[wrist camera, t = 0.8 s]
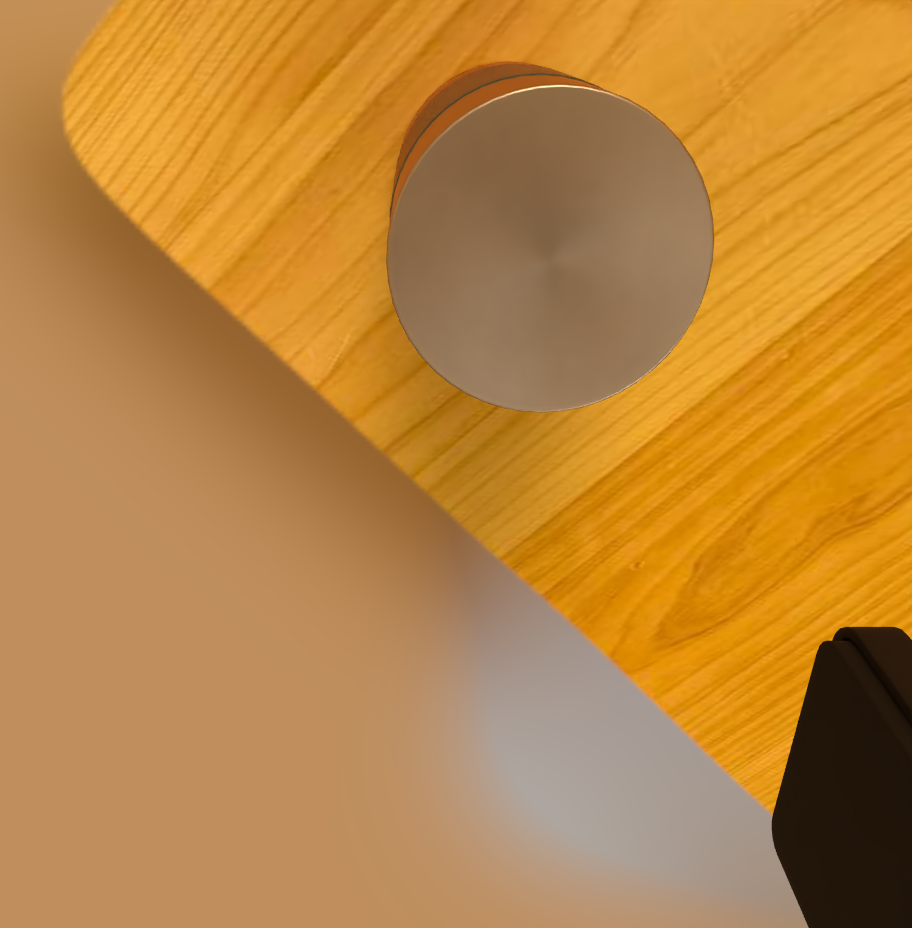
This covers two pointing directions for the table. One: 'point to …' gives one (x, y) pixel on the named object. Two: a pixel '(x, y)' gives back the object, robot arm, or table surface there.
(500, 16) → the table surface
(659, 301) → the can
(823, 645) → the robot arm
